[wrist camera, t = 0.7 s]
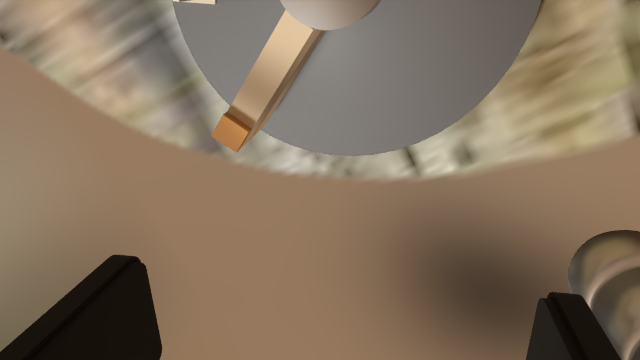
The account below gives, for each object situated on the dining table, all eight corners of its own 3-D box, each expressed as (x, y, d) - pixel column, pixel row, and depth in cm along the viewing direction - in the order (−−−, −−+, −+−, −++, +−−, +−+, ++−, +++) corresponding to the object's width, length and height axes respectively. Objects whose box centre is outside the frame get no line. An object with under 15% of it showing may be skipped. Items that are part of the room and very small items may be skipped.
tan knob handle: (332, -95, 23) (309, -123, 18) (406, -39, 24) (407, -49, 18) (227, 92, 29) (184, 117, 23) (290, 136, 29) (262, 170, 23)
